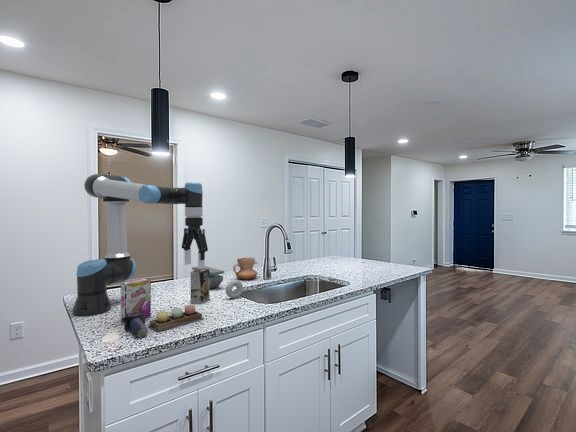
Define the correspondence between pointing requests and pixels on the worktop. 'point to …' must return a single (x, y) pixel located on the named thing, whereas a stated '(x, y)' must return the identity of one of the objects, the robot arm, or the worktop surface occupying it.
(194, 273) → the coffee box
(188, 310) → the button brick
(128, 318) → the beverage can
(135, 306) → the candy bar box
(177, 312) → the button sage
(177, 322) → the wooden tray
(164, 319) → the button ochre
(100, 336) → the worktop surface
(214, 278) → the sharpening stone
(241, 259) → the ceramic jug
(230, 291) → the donut
